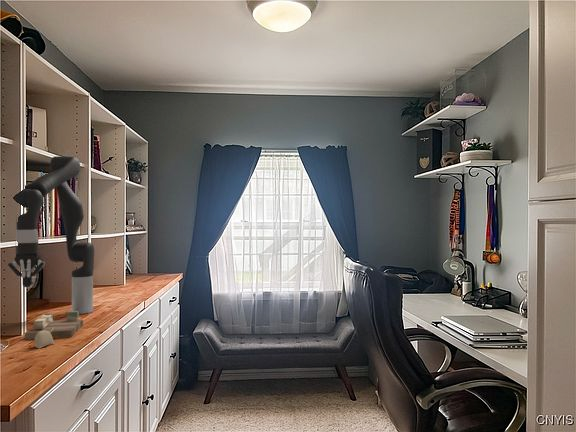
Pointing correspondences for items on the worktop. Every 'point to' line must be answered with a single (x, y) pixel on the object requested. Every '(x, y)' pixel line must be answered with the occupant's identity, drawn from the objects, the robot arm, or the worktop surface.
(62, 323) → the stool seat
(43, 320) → the ash leg
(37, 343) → the decorative ornament
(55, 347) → the worktop surface
